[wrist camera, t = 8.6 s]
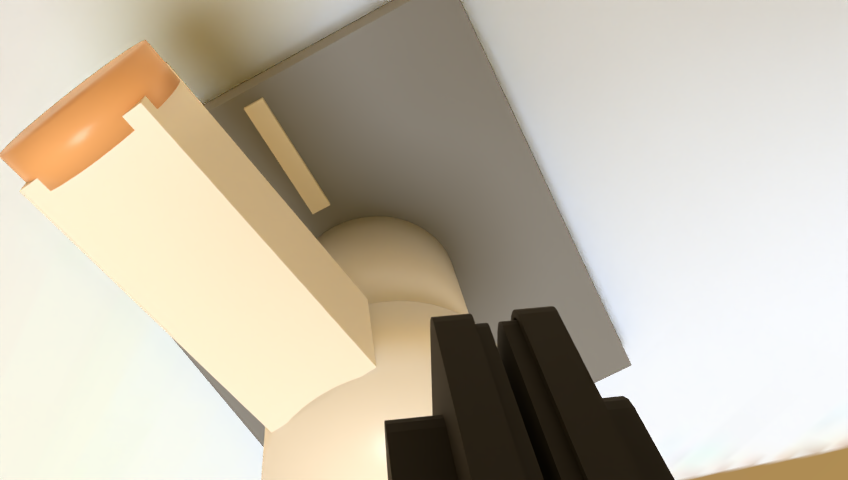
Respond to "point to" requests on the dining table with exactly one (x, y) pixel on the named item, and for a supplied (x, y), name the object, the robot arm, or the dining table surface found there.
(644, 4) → the dining table surface
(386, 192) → the base
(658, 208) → the dining table surface
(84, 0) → the dining table surface
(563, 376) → the robot arm
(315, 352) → the cream piece
